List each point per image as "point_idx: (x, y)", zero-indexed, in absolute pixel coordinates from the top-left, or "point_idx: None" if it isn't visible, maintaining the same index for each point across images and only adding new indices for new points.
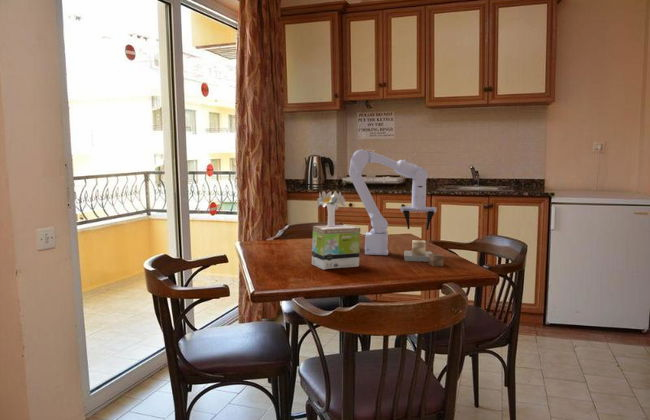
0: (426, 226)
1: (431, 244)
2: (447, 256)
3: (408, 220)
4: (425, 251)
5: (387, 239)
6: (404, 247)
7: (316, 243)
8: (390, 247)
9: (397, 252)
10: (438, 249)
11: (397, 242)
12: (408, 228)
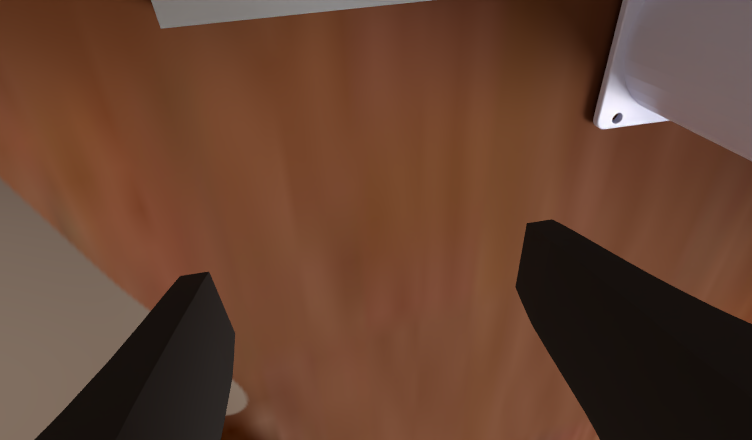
0: (219, 359)
1: (281, 434)
2: (9, 76)
3: (688, 330)
4: (235, 13)
5: (739, 75)
6: (441, 319)
7: None
8: None
9: (511, 133)
10: None
11: (471, 415)
12: (552, 224)
